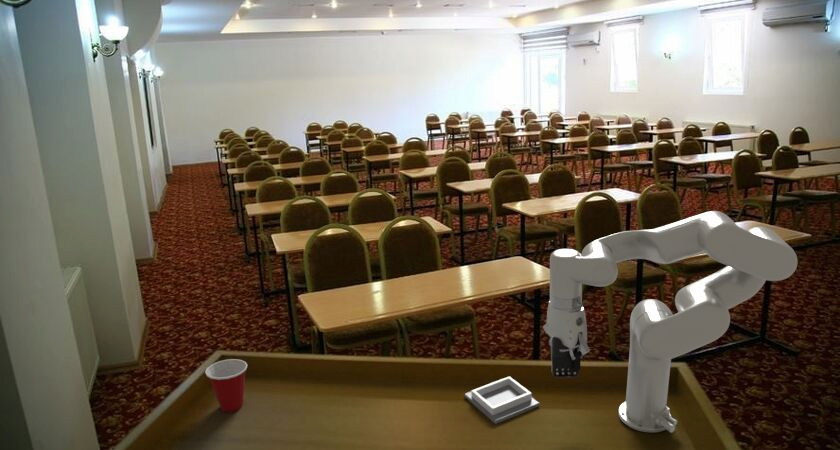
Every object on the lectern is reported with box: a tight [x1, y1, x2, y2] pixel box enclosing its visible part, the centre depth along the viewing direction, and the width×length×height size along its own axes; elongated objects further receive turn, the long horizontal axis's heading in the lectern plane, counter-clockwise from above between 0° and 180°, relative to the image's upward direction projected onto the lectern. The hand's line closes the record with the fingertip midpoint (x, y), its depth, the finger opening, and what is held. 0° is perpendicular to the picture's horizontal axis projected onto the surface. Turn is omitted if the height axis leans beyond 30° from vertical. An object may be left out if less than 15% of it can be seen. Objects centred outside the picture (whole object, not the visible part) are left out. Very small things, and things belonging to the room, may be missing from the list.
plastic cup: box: [204, 358, 248, 413], centre depth 167 cm, size 11×11×12 cm
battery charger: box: [550, 336, 580, 379], centre depth 154 cm, size 7×4×11 cm, turn 85°
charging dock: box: [464, 375, 540, 425], centre depth 165 cm, size 14×14×3 cm
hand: (565, 364), depth 155 cm, fingers closed on battery charger, 6 cm apart
